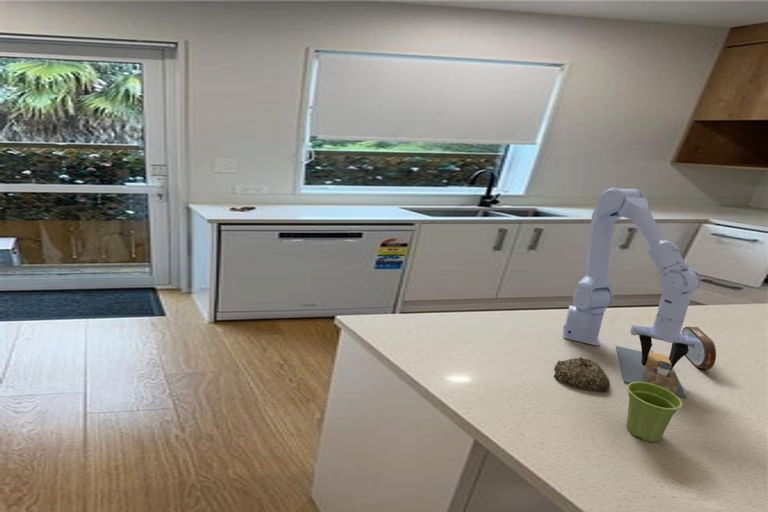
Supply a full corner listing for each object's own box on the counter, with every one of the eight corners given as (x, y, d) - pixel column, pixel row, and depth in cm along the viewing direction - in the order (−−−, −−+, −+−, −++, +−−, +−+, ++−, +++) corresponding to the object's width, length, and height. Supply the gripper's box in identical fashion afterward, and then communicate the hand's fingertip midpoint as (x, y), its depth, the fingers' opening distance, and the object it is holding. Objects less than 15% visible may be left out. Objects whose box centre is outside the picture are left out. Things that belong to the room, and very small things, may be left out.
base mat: (624, 383, 108) (624, 381, 108) (615, 347, 127) (616, 345, 127) (686, 398, 104) (686, 396, 103) (668, 359, 122) (668, 357, 122)
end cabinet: (645, 387, 106) (649, 374, 105) (642, 377, 110) (646, 364, 109) (674, 394, 104) (679, 381, 103) (670, 384, 108) (674, 371, 107)
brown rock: (611, 398, 102) (616, 378, 100) (554, 385, 105) (558, 366, 103) (602, 371, 113) (607, 353, 112) (551, 360, 117) (555, 342, 115)
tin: (712, 375, 116) (721, 346, 114) (698, 373, 117) (708, 343, 114) (686, 349, 130) (694, 322, 128) (674, 347, 131) (682, 320, 128)
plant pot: (607, 416, 94) (617, 380, 91) (649, 417, 95) (660, 381, 92) (635, 447, 85) (647, 408, 82) (681, 448, 86) (694, 409, 83)
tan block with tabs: (644, 373, 112) (648, 359, 110) (641, 364, 116) (645, 350, 115) (667, 378, 110) (671, 364, 109) (663, 369, 114) (667, 355, 113)
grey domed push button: (654, 380, 106) (659, 365, 105) (652, 375, 108) (657, 359, 107) (668, 384, 105) (672, 368, 104) (665, 378, 107) (670, 362, 106)
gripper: (639, 315, 107) (625, 366, 111) (709, 330, 103) (692, 382, 106) (635, 306, 114) (622, 354, 118) (701, 319, 109) (685, 368, 113)
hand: (655, 366), depth 112 cm, fingers closed on tan block with tabs, 5 cm apart
